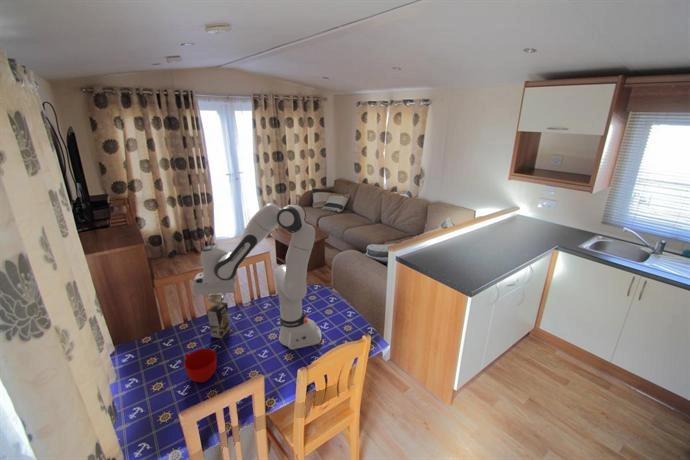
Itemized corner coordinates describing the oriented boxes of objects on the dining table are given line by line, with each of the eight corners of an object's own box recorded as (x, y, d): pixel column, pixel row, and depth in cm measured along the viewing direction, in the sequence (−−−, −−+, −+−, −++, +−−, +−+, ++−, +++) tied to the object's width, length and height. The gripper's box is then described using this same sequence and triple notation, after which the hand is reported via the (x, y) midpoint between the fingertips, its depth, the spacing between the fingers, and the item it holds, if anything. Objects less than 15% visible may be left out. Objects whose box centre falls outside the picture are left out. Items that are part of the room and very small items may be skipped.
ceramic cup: (200, 358, 153) (197, 341, 150) (225, 373, 146) (222, 355, 142) (175, 376, 143) (171, 359, 139) (200, 393, 135) (196, 374, 132)
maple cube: (222, 299, 168) (221, 291, 166) (220, 305, 163) (219, 296, 161) (212, 300, 167) (211, 292, 165) (210, 305, 163) (209, 297, 161)
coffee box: (221, 338, 167) (218, 312, 161) (210, 336, 168) (206, 310, 163) (231, 327, 175) (227, 302, 170) (220, 326, 177) (216, 301, 171)
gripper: (235, 272, 164) (238, 295, 169) (193, 274, 161) (197, 297, 166) (233, 278, 158) (236, 302, 163) (190, 280, 155) (194, 304, 160)
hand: (216, 300), depth 165 cm, fingers closed on maple cube, 5 cm apart
